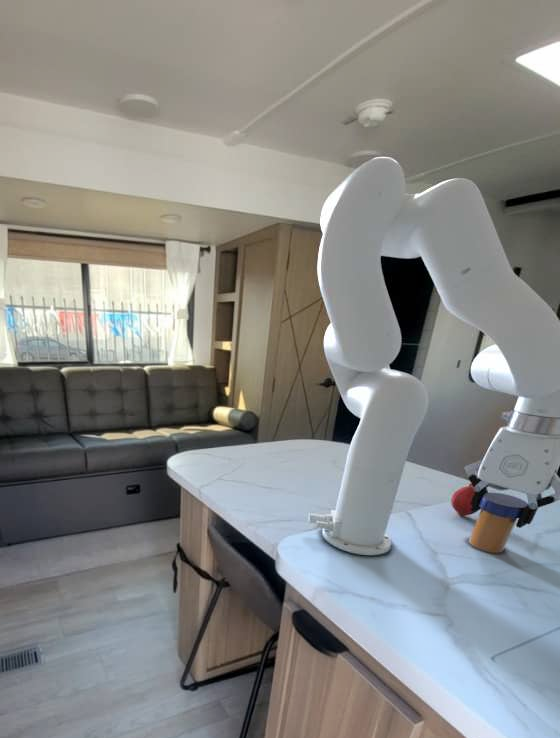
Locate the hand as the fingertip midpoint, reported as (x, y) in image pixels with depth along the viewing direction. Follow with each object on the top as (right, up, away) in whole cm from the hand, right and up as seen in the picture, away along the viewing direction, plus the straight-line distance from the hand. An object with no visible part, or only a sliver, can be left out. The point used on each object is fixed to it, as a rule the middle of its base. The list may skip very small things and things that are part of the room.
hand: (497, 516), depth 77 cm
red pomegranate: (+4, 0, +15) cm, 15 cm away
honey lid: (0, +3, -1) cm, 3 cm away
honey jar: (0, -6, +3) cm, 6 cm away
